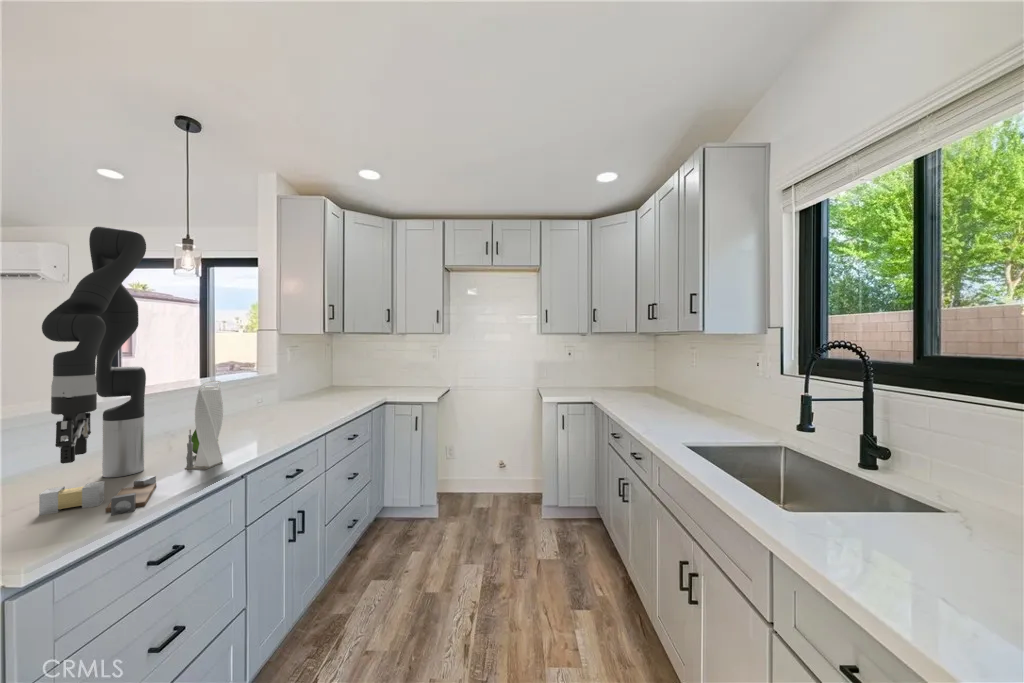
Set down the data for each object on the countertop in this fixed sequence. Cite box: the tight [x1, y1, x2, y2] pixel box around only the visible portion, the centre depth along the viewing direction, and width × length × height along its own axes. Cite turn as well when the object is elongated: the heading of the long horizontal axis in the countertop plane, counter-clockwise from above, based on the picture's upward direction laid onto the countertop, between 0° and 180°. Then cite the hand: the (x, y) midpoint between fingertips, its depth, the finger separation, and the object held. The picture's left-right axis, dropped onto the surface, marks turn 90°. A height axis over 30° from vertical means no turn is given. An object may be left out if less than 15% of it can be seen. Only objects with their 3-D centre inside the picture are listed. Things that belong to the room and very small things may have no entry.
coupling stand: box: [105, 475, 157, 516], centre depth 102 cm, size 21×7×4 cm, turn 35°
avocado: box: [191, 428, 199, 455], centre depth 140 cm, size 8×8×12 cm
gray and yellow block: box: [38, 480, 105, 516], centre depth 96 cm, size 4×10×5 cm, turn 125°
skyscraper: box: [184, 380, 224, 471], centre depth 128 cm, size 8×8×28 cm
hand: (74, 458), depth 96 cm, fingers open, 8 cm apart
